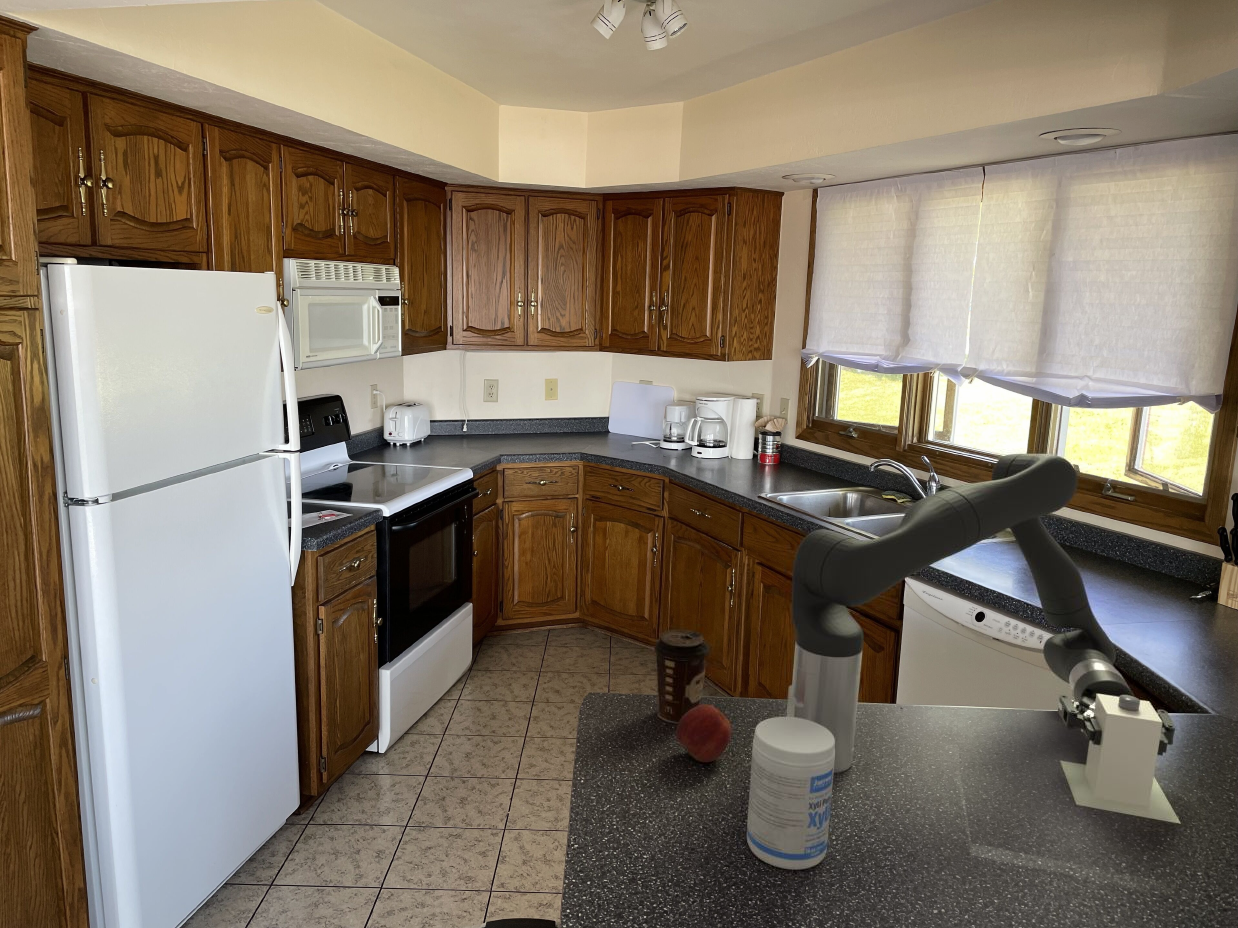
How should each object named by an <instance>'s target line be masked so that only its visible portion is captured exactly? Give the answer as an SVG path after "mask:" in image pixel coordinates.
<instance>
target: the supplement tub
mask: <svg viewBox="0 0 1238 928" xmlns="http://www.w3.org/2000/svg"><path fill="white" fill-rule="evenodd" d="M751 752H752V753H751V762H750V763H751V765H750V766H751V767H750V780H749V781H750V782H749V794H748V809H747V823H746V824H747V825H746V841H747V844H748V846H749V849H750V850H751V852H752V853H753V854H754V855H755V856H756V857H757V858H758V859H760V860H761V861H763V862H764V863H767V864H769V865H771V866H773V867H777V868H781V869H786V870H805V869H809V868H812V867H815V866H816V865H818V864H819V863H821V862H822V861H823V859H824V858H825V856H826V855H827V849H828V839H829V827H830V818H831V817H830V816H831V805H832V792H833V783H834V782H833V781H834V774H835V773H834V761H835V739H834V736H833V735H832V733H831V732H830V731H829V730H828V729H826V728H825V727H823V726H822V725H819V724H817V723H815V722H812V721H809V720H806V719H801V718H795V717H787V716H777V717H776V716H775V717H769V718H767V719H764V720H762V721H760V722H759V723H758V724H757V725H756V727H755V730H754V736H753V741H752V751H751Z"/></svg>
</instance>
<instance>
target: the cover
mask: <svg viewBox="0 0 1238 928" xmlns="http://www.w3.org/2000/svg"><path fill="white" fill-rule="evenodd" d="M1094 714H1095V718H1094V719H1096V721H1097V723H1098V725H1099V727H1100V729H1101V740H1100V745H1094V744H1093V743H1092V741H1091V740H1089V743H1088V750H1087V757H1086V762H1085V765H1086V769H1085V775H1086V777H1087V780H1088V782H1089V785H1090V787H1091V790H1092V792H1093V794H1094V797H1097V798H1102V799H1108V800H1113V801H1119V802H1124V803H1130V804H1135V805H1141V806H1146V807H1149V803H1150V797H1151V790H1152V784H1153V778H1154V777H1155V771H1156V765H1157V759H1158V758H1157V757H1158V755H1157V753H1158V747H1159V741H1160V735H1161V729H1162V720H1161V719H1160V717H1159V716H1158V714H1157V711H1156V710H1155V708H1154V707H1153V705H1152V703H1151V702H1150V701H1148V700H1142V699H1139V698H1137V697H1133V696H1129V695H1120V696H1119V697H1116V696H1110V695H1103V694H1096V701H1095V708H1094Z"/></svg>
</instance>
